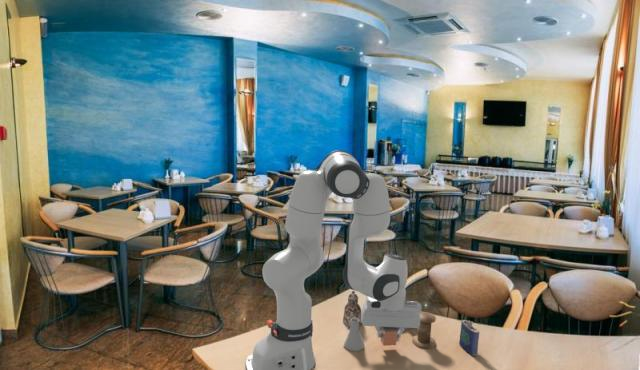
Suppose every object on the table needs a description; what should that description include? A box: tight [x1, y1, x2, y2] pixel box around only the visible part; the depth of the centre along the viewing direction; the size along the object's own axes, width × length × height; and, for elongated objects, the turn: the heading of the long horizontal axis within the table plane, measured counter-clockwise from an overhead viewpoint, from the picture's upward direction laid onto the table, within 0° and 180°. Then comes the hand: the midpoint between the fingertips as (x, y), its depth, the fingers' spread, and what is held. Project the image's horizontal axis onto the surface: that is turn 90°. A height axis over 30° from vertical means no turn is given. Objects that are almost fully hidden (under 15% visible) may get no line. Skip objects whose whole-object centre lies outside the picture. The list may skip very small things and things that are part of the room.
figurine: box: [342, 290, 362, 327], centre depth 162 cm, size 7×7×12 cm
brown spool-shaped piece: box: [411, 311, 437, 349], centre depth 149 cm, size 8×8×10 cm
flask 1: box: [343, 318, 365, 352], centre depth 145 cm, size 7×7×10 cm
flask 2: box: [458, 319, 480, 358], centre depth 145 cm, size 9×3×11 cm, turn 13°
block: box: [380, 327, 398, 347], centre depth 144 cm, size 4×3×6 cm
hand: (388, 337), depth 144 cm, fingers closed on block, 5 cm apart
